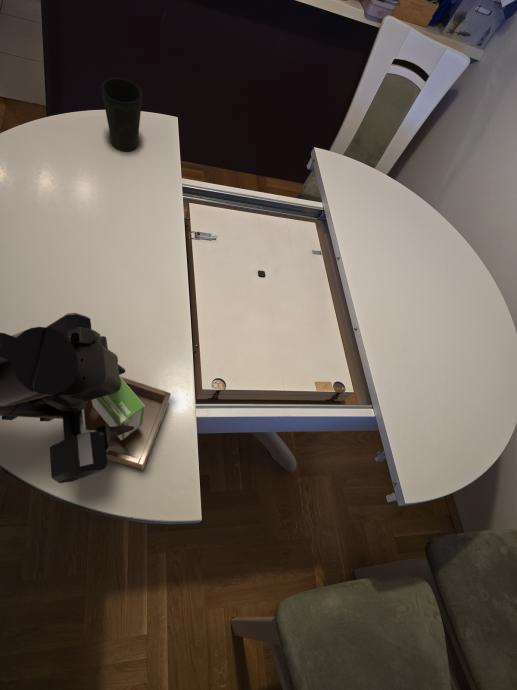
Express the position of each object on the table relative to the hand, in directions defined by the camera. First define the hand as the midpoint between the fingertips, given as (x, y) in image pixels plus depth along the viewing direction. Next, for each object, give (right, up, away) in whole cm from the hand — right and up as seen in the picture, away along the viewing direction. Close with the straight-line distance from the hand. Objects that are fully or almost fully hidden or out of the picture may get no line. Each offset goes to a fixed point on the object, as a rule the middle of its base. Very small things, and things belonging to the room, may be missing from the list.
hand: (127, 400), depth 52 cm
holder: (-4, -5, +10) cm, 12 cm away
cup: (-13, +53, +35) cm, 65 cm away
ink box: (-3, -3, +5) cm, 7 cm away
